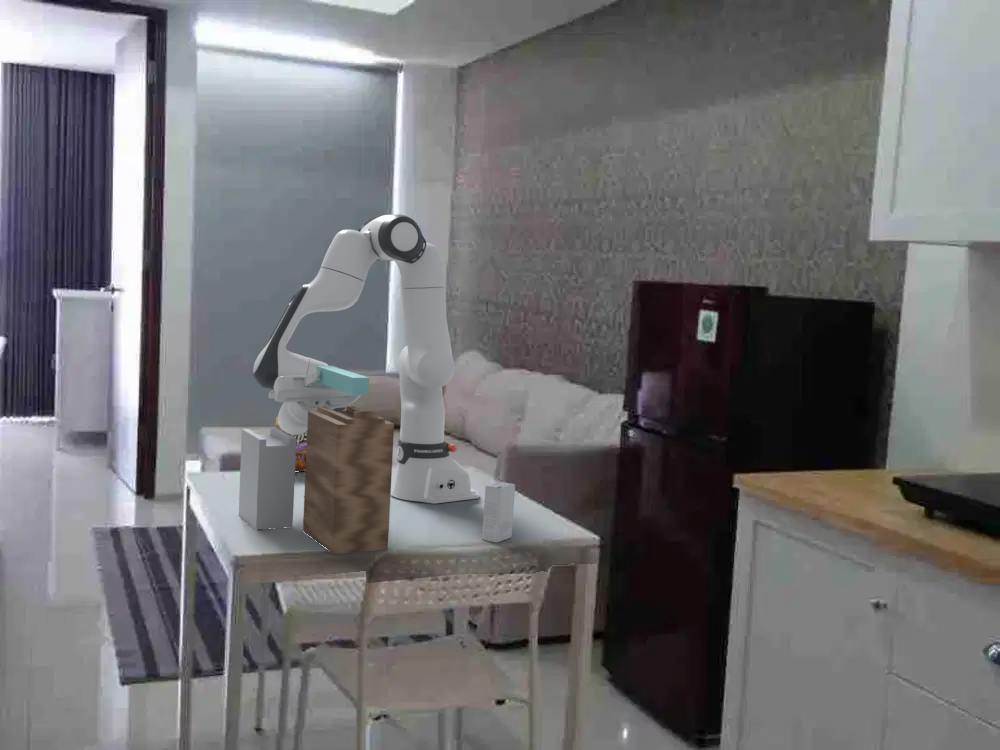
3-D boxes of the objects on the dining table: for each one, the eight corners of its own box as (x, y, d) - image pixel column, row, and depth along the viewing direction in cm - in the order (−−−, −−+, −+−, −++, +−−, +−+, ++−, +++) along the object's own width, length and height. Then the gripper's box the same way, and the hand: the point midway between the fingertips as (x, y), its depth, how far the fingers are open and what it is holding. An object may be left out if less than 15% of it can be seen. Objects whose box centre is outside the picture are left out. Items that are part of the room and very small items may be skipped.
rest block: (273, 512, 235) (276, 428, 234) (292, 527, 223) (296, 438, 221) (238, 514, 232) (241, 428, 230) (256, 530, 219) (259, 439, 217)
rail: (331, 381, 228) (331, 365, 228) (368, 394, 209) (369, 377, 209) (316, 381, 226) (316, 366, 226) (352, 395, 207) (352, 377, 207)
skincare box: (495, 534, 228) (498, 480, 227) (512, 538, 226) (516, 483, 224) (480, 539, 223) (483, 484, 221) (498, 543, 220) (501, 488, 219)
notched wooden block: (355, 528, 226) (361, 399, 223) (387, 549, 211) (394, 411, 208) (302, 531, 220) (308, 399, 218) (331, 554, 205) (338, 411, 202)
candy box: (278, 474, 278) (280, 418, 277) (272, 471, 282) (274, 415, 280) (309, 472, 283) (311, 417, 282) (303, 469, 287) (305, 415, 285)
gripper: (264, 385, 231) (281, 360, 220) (350, 384, 241) (370, 360, 230) (267, 412, 229) (285, 388, 217) (354, 409, 239) (375, 386, 227)
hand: (329, 373), depth 224 cm, fingers closed on rail, 3 cm apart
